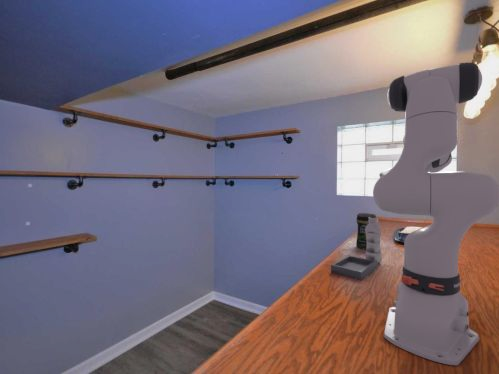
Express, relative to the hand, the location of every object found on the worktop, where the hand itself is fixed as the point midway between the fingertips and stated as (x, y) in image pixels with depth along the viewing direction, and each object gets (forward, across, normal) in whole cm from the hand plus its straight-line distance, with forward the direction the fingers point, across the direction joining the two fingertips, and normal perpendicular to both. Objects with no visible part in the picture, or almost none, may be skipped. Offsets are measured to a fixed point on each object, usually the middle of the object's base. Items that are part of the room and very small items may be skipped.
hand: (384, 186), depth 109 cm
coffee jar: (+9, -17, +38) cm, 43 cm away
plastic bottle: (+17, +5, +29) cm, 34 cm away
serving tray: (+29, +11, +22) cm, 38 cm away
